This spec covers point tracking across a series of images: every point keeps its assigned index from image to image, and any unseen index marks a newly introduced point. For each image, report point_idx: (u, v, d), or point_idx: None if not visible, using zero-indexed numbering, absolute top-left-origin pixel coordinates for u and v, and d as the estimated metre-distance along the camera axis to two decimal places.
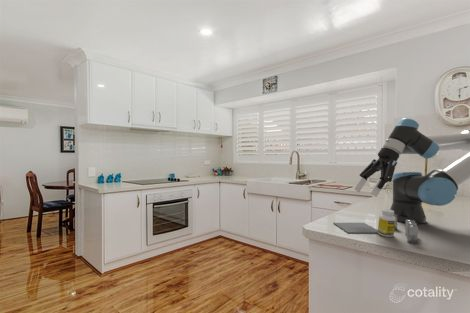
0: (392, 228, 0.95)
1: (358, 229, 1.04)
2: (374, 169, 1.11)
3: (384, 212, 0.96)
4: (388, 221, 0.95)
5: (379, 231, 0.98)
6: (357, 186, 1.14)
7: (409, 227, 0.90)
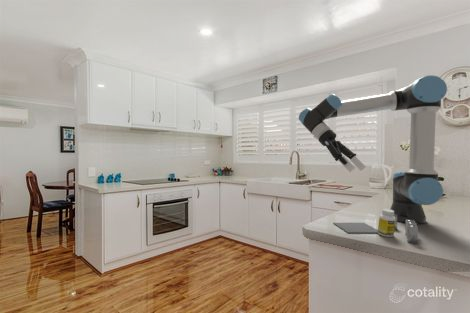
0: (392, 228, 0.95)
1: (358, 229, 1.04)
2: (341, 149, 1.13)
3: (384, 212, 0.96)
4: (388, 221, 0.95)
5: (379, 231, 0.98)
6: (358, 166, 1.11)
7: (409, 227, 0.90)
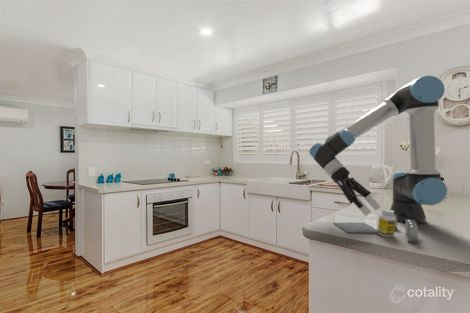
0: (392, 228, 0.95)
1: (358, 229, 1.04)
2: (355, 188, 1.08)
3: (384, 212, 0.96)
4: (388, 221, 0.95)
5: (379, 231, 0.98)
6: (373, 206, 1.06)
7: (409, 227, 0.90)
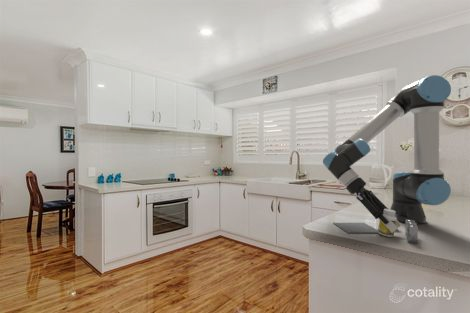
0: None
1: (358, 229, 1.04)
2: (371, 200, 1.03)
3: (385, 212, 0.96)
4: None
5: (379, 230, 0.98)
6: None
7: (409, 227, 0.90)
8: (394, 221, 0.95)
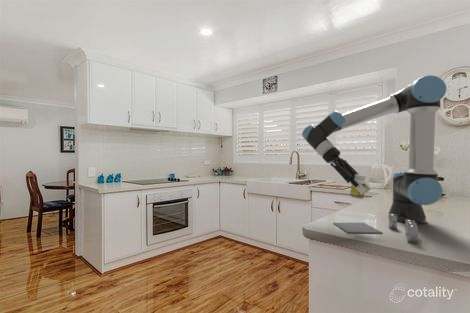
0: None
1: (358, 229, 1.04)
2: (345, 168, 1.12)
3: (356, 176, 1.05)
4: None
5: (351, 194, 1.06)
6: None
7: (409, 227, 0.90)
8: (364, 184, 1.04)
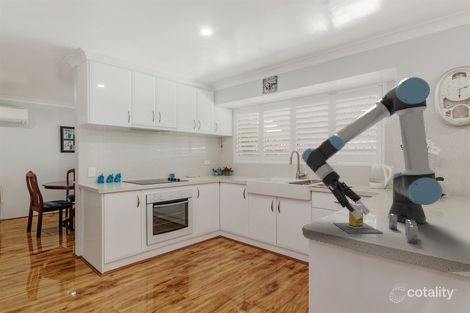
0: (360, 220, 1.04)
1: (358, 229, 1.04)
2: (345, 191, 1.13)
3: None
4: None
5: (349, 224, 1.07)
6: (363, 211, 1.10)
7: (409, 227, 0.90)
8: (361, 213, 1.04)
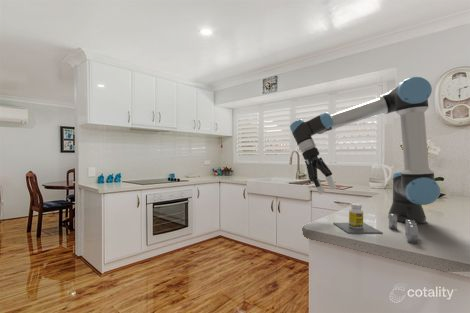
0: (360, 220, 1.04)
1: (358, 229, 1.04)
2: (320, 167, 1.21)
3: (352, 206, 1.06)
4: (356, 213, 1.04)
5: (350, 224, 1.06)
6: (330, 186, 1.22)
7: (409, 227, 0.90)
8: (361, 214, 1.04)
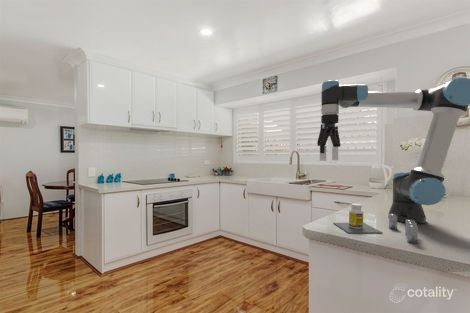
0: (360, 220, 1.04)
1: (358, 229, 1.04)
2: (332, 135, 1.19)
3: (352, 206, 1.06)
4: (356, 213, 1.04)
5: (350, 224, 1.06)
6: (333, 156, 1.22)
7: (409, 227, 0.90)
8: (361, 214, 1.04)
